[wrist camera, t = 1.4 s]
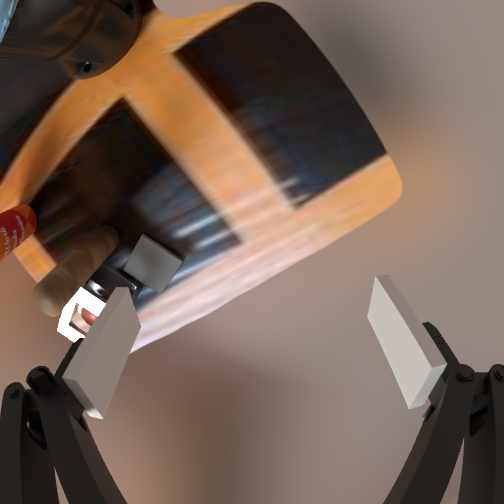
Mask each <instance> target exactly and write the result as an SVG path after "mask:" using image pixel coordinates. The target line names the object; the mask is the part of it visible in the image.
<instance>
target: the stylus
mask: <svg viewBox="0 0 504 504" xmlns="http://www.w3.org/2000/svg"><path fill="white" fill-rule="evenodd" d="M119 241H120V238H119V234H118V232H117V231H116V230H115V229H114V228H113V227H111V226H109V225H104V226H101V227H100V228H99V229H98V230H96V231H95V232H94V233H93V234H92V235H90V236H89V237H88V238H87V239H86V240H85V241H83V242H82V243H81V244H80V245H79V246H78V247H77V248H75V249H74V250H73V251H72V252H71V253H70V254H69V255H68V256H66V257H65V258H64V259H63V260H62V261H61V262H60V263H59V264H58V265H57V266H56V267H55V268H54V269H52V270H51V271H50V272H49V273H48V274H47V275H46V276H45V277H44V278H43V279H42V280H41V281H40V282H39V283H38V284H37V285H36V286H35V287H34V289H33V298H34V301H35V302H36V305H37V306H38V307H39V309H40V310H41V311H42V312H44V313H45V314H47V315H48V316H51V317H56V316H58V315H59V314H60V313H61V312H62V310H63V309H64V308H65V307H66V305H67V304H68V303H69V302H70V300H71V299H72V298H73V297H74V296H75V294H76V293H77V292H78V291H79V290H80V288H81V287H82V286H83V285H84V284H85V282H86V281H87V280H88V279H89V278H90V277H91V275H92V274H93V273H94V272H95V271H96V270H97V269H98V267H99V266H100V265H101V264H102V263H103V262H104V261H105V260H106V259H107V257H108V256H109V255H110V254H111V253H112V252H113V251H114V250H115V249H116V248H117V246H118V245H119Z"/></svg>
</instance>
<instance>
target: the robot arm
mask: <svg viewBox="0 0 504 504" xmlns="http://www.w3.org/2000/svg"><path fill="white" fill-rule="evenodd" d="M141 22H142V9H141V5H140V2H139V0H0V58H14V59H26V60H37V61H42V62H43V63H44V64H45V65H47V66H48V67H49V68H50V69H51V70H52V71H54V72H55V73H56V74H58V75H60V76H62V77H65V78H72V79H88V78H92V77H95V76H97V75H99V74H102V73H103V72H105V71H107V70H108V69H110V68H111V67H113V66H114V65H115V64H116V63H117V62H118V61H119V60H120V59H121V58H122V57H123V56H124V55H125V54H126V53H127V52H128V50H129V49H130V48H131V46H132V44H133V43H134V41H135V39H136V37H137V35H138V33H139V30H140V26H141ZM367 317H368V319H369V321H370V323H371V325H372V327H373V330H374V332H375V334H376V336H377V338H378V340H379V342H380V344H381V346H382V349H383V351H384V353H385V355H386V357H387V359H388V362H389V364H390V366H391V368H392V371H393V373H394V375H395V377H396V380H397V382H398V384H399V387H400V389H401V391H402V394H403V396H404V399H405V401H406V403H407V406H408V408H409V409H411V408H415V407H419V406H422V405H424V403H425V402H426V400H427V398H428V397H429V400H430V402H431V405H430V406H429V408H428V409H427V411H426V412H425V414H424V415H423V417H425V419H424V421H423V424H422V426H421V429H420V432H419V434H418V436H417V438H416V441H415V443H414V445H413V448H412V450H411V452H410V454H409V456H408V458H407V460H406V462H405V465H404V467H403V469H402V471H401V472H400V474H399V477H398V478H397V480H396V482H395V484H394V486H393V487H392V489H391V491H390V493H389V494H388V496H387V498H386V500H385V501H384V503H383V504H440V502H441V500H442V498H443V495H444V493H445V491H446V488H447V486H448V483H449V480H450V478H451V475H452V473H453V470H454V467H455V464H456V461H457V458H458V455H459V452H460V449H461V446H462V442H463V439H464V454H463V467H462V475H461V484H460V491H459V497H458V503H457V504H504V365H501V364H495V365H494V366H492V367H491V369H490V370H489V372H484V373H482V372H474V370H473V369H472V368H471V367H469V366H467V365H465V364H460V363H459V362H458V360H457V358H456V357H455V355H454V354H453V352H452V351H451V349H450V348H449V346H448V345H447V343H445V340H444V338H443V337H441V334H440V332H439V331H438V330H437V328H436V327H434V326H433V325H432V324H430V323H429V322H426V323H421V321H420V320H419V318H418V317H417V315H416V314H415V313H414V311H413V309H412V308H411V306H410V305H409V304H408V302H407V301H406V299H405V298H404V296H403V295H402V294H401V292H400V291H399V289H398V288H397V287H396V285H395V284H394V282H393V281H392V280H391V279H390V277H389V276H388V275H382V276H375V281H374V287H373V292H372V297H371V302H370V307H369V312H368V316H367ZM140 328H141V325H140V322H139V319H138V316H137V313H136V310H135V307H134V304H133V301H132V298H131V295H130V291H129V288H128V287H116V288H115V290H114V291H113V293H112V295H111V296H110V298H109V299H108V301H107V302H106V304H105V305H104V307H103V308H102V310H101V312H100V313H99V315H98V316H97V318H96V320H95V321H94V323H93V324H92V326H91V328H90V329H89V331H88V333H87V334H86V336H85V337H79V338H78V339H77V340H76V341H75V342H74V343H73V344H72V346H71V347H70V349H69V350H68V352H67V354H66V355H65V358H64V359H63V361H62V362H61V364H60V366H59V367H58V369H57V371H56V373H55V375H54V376H53V374H52V373H51V371H50V370H49V368H47V367H45V366H38V367H36V368H34V369H33V370H31V371H30V372H29V374H28V376H27V379H26V382H27V384H28V385H29V386H30V388H31V389H27V390H26V389H25V388H24V387H23V385H22V384H21V383H19V382H14V383H11V384H10V385H9V386H7V388H6V389H5V391H4V394H3V400H2V407H1V415H0V504H59V498H58V492H57V487H56V478H55V470H54V466H55V469H56V472H57V475H58V478H59V480H60V483H61V485H62V488H63V490H64V493H65V495H66V498H67V500H68V502H69V504H127V502H126V501H125V499H124V497H123V496H122V494H121V492H120V491H119V489H118V487H117V485H116V484H115V482H114V480H113V478H112V476H111V474H110V472H109V470H108V469H107V467H106V465H105V463H104V461H103V459H102V457H101V454H100V452H99V451H98V448H97V446H96V444H95V441H94V439H93V437H92V435H91V432H90V430H89V428H88V425H87V423H86V420H85V418H84V417H83V415H82V414H83V411H84V409H85V410H86V412H87V413H88V414H89V415H90V416H91V417H96V418H101V419H104V418H105V415H106V412H107V409H108V406H109V404H110V401H111V398H112V396H113V393H114V391H115V388H116V385H117V383H118V380H119V378H120V375H121V373H122V370H123V368H124V365H125V363H126V361H127V358H128V356H129V353H130V351H131V349H132V346H133V344H134V341H135V339H136V337H137V335H138V332H139V330H140Z"/></svg>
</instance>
